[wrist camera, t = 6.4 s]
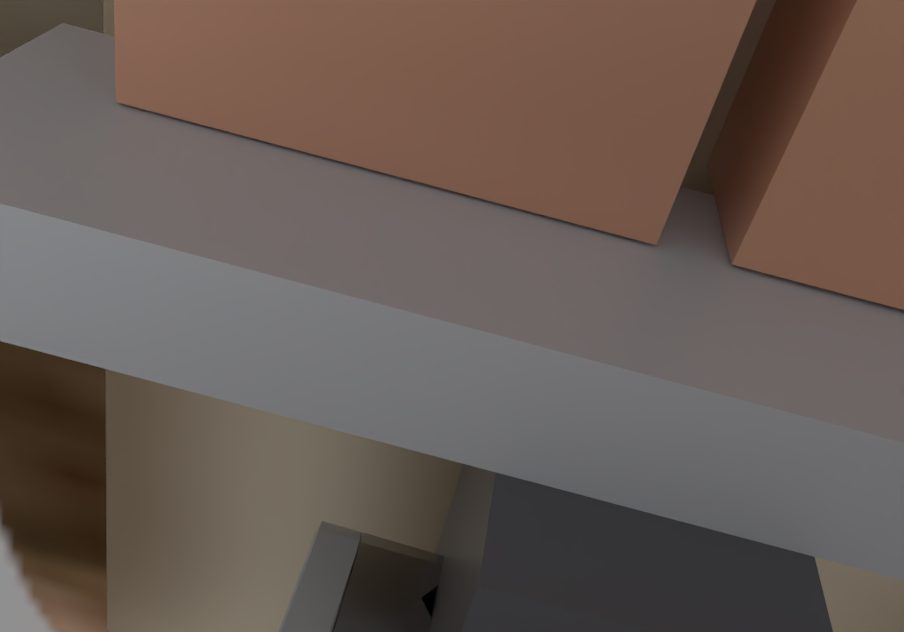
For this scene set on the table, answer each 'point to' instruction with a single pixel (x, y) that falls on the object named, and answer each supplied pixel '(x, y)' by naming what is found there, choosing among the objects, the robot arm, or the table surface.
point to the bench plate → (311, 487)
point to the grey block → (471, 357)
